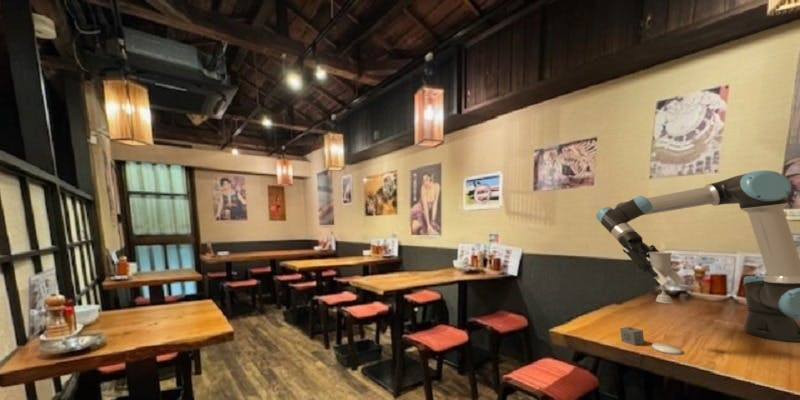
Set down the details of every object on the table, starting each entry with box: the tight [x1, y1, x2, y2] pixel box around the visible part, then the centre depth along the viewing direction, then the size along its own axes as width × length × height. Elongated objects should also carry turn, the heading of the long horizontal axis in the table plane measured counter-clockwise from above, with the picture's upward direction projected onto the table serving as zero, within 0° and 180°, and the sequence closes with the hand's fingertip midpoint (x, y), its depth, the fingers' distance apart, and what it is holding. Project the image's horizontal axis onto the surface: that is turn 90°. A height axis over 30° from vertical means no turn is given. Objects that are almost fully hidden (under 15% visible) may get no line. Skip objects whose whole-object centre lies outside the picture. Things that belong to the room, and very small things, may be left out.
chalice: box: [647, 251, 674, 304], centre depth 110 cm, size 7×7×18 cm
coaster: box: [651, 342, 683, 356], centre depth 107 cm, size 8×8×1 cm
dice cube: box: [620, 326, 645, 347], centre depth 115 cm, size 5×5×5 cm
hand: (673, 283), depth 107 cm, fingers closed on chalice, 6 cm apart
